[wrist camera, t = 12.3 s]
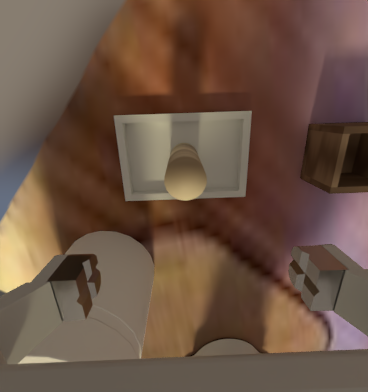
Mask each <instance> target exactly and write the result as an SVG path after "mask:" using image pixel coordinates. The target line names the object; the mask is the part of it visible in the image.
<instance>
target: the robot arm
mask: <svg viewBox="0 0 368 392" xmlns="http://www.w3.org/2000/svg"><path fill="white" fill-rule="evenodd" d="M291 256H292V257H293V259H294V260H293V261H292V262H291V263H290V264H289V276H290V280H291V282H292V284H293V285H294V287H295V288H296V289H298V290H299V291H301V292H302V293H301V297H302V299H303V300H304V302H305V303H306V305H307V306H308V308H309V309H310V311H334V312H335V313H336V314H338V315H339V316H341V317H342V318H343V319H345V320H346V321H347V322H349V323H350V324H352V325H353V326H354V327H356V328H357V329H359V330H360V331H361V332H363V333H364V334H365V335H367V336H368V269H363V268H362V267H361V266H359V265H358V264H357V263H356V262H354V261H353V260H352V259H351V258H350V257H348V256H347V255H346V254H345V253H343V252H342V251H341V250H340V249H339V248H337V247H336V246H335V245H332V244H325V245H314V246H295V247H293V249H292V252H291ZM97 264H98V260H97V256H96V255H95V254H70V255H69V254H64V255H56V256H54V257H53V258H52V260H51V261H50V262H49V263H48V264H47V265H46V266H45V267H44V268H43V270H42V271H41V272H40V273H39V274H38V275H37V276H36V277H35V278H34V279H33V281H32V282H31V283H25V284H23V285H21V286H19V287H17V288H16V289H14V290H12V291H10V292H8V293H6V294H4V295H2V296H1V297H0V392H368V349H358V350H334V351H311V352H287V353H263V354H262V353H259V352H258V351H257V350H256V349H255V348H254V347H253V346H252V345H251V344H249V343H247V342H245V341H242V340H238V339H221V340H217V341H213V342H211V343H209V344H207V345H205V346H204V347H202V348H201V349H200V350H199V351H198V352H197V353H196V354H195V355H193V356H191V357H167V358H144V359H120V360H97V361H74V362H50V363H25V364H18V363H19V362H20V361H21V360H22V359H23V358H25V357H26V356H27V355H28V354H29V353H30V352H31V351H32V350H33V349H34V348H35V347H37V346H38V345H39V344H40V343H41V342H42V341H43V340H44V339H45V338H46V337H47V336H49V335H50V334H51V333H52V332H53V331H54V330H55V329H56V328H57V327H58V326H59V325H61V324H62V322H63V321H78V320H86V318H87V316H88V314H89V312H90V310H91V308H92V306H93V303H92V299H93V298H95V297H96V296H97V295H98V292H99V290H100V285H101V274H100V271H99V270H98V269H97V268H96V266H97Z"/></svg>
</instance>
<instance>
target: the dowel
mask: <svg viewBox="0 0 368 392" xmlns="http://www.w3.org/2000/svg"><path fill="white" fill-rule="evenodd" d="M164 184H165V187H166V189H167V191H168V192H169V194H170V195H171V196H173V197H174V198H176V199H179V200H185V201H186V200H192V199H195V198H197V197H198V196H199V195H201V193H202V192H203V191H204V189H205V187H206V184H207V176H206V173H205V170H204V168H203V165H202V163H201V161H200V158H199V156H198V153H197V151H196V149H195V148H194V147H193V146H192V145H190V144H188V143H180V144H178V145H176V146H175V147H174V148H173V149H172V151H171V154H170V158H169V161H168V165H167V169H166V173H165V177H164Z"/></svg>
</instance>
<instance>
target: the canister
mask: <svg viewBox="0 0 368 392" xmlns="http://www.w3.org/2000/svg"><path fill="white" fill-rule="evenodd" d="M65 254H69V255H70V254H95V255H96V256H97V260H98V264H97V266H96V268H97V269H98V270H99V271H100V274H101V285H100V290H99V292H98V295H97V296H96V297H95V298H93V299H92V303H93V306H92V308H91V310H90V312H89V314H88V316H87V318H86V320H78V321H63V322H62V324H61V325H59V326H58V327H57V328H56V329H55V330H54V331H53V332H52V333H51V334H50V335H49V336H47V337H46V338H45V339H44V340H43V341H42V342H41V343H40V344H39V345H38V346H37V347H35V348H34V349H33V350H32V351H31V352H30V353H29V354H28V355H27V356H26V357H25V358H23V359H22V360H21V361H20V362H19V363H18V364H25V363H50V362H74V361H97V360H120V359H141V355H142V349H143V343H144V336H145V330H146V324H147V317H148V311H149V305H150V299H151V292H152V286H153V280H154V263H153V261H152V258H151V255H150V254H149V252H148V251H147V250H146V249H145V247H144V246H143V245H142V244H141V243H139V242H138V241H136V240H135V239H133V238H132V237H130V236H128V235H125V234H122V233H119V232H114V231H98V232H93V233H89V234H86V235H84V236H83V237H81V238H79V239H78V240H76V241H75V242H74V243H73V244H72V246H71V247H70V248H69V249H68V250H67V252H66V253H65Z"/></svg>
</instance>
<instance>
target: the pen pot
mask: <svg viewBox="0 0 368 392" xmlns="http://www.w3.org/2000/svg"><path fill="white" fill-rule="evenodd" d="M300 178H301V179H303V180H305V181H307V182H309V183H311V184H312V185H314V186H316V187H318V188H320V189H322V190H324V191H326V192H328V193H330V194H331V193H358V192H368V122H354V123H325V124H309V129H308V135H307V141H306V147H305V153H304V159H303V165H302V171H301V177H300Z"/></svg>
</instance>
